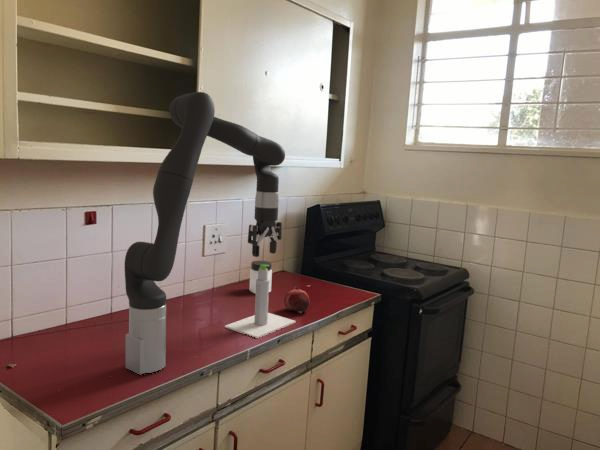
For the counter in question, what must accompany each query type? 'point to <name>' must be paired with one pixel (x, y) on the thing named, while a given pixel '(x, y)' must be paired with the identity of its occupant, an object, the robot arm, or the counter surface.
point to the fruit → (297, 300)
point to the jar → (254, 274)
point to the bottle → (262, 296)
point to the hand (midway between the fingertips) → (264, 254)
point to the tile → (258, 331)
